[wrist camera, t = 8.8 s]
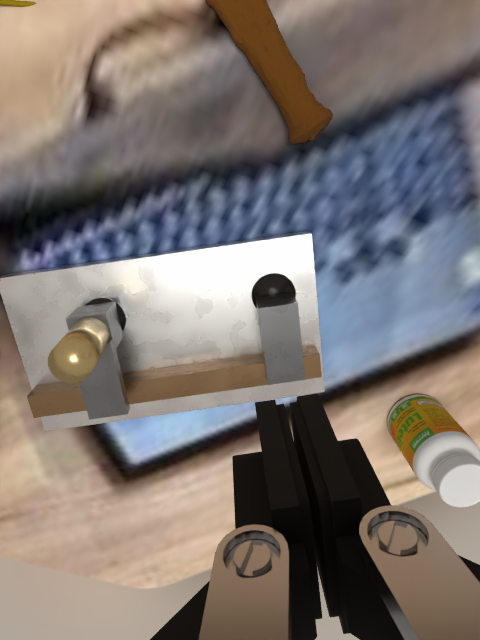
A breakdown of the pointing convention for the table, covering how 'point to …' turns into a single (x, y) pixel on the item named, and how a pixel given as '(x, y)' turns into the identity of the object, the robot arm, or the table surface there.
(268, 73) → the primitive tool
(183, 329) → the bolt plate
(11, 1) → the extension cord
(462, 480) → the supplement bottle
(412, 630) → the robot arm
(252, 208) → the table surface
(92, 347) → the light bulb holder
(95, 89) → the table surface
